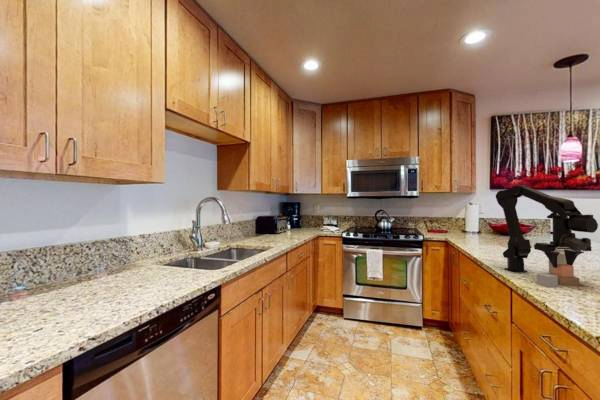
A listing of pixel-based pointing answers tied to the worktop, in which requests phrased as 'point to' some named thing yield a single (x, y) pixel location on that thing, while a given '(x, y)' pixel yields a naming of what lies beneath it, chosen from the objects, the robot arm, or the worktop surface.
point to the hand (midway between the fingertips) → (562, 267)
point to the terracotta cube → (563, 270)
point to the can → (559, 259)
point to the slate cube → (547, 280)
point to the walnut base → (567, 281)
